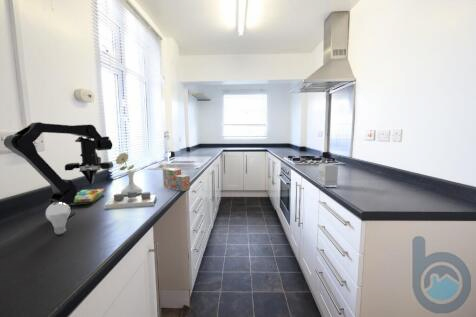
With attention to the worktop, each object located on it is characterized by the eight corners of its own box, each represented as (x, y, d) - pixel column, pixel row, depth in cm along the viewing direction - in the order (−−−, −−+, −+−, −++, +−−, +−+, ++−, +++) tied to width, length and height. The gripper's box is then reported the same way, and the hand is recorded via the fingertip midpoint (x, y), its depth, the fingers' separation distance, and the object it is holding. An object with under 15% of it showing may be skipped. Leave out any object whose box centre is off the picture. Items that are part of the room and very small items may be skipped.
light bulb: (52, 240, 76) (49, 206, 74) (44, 235, 79) (41, 203, 78) (76, 232, 81) (73, 201, 80) (67, 228, 85) (64, 198, 84)
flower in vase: (137, 190, 140) (135, 151, 137) (145, 194, 132) (143, 152, 129) (115, 194, 131) (112, 152, 128) (122, 198, 123) (119, 153, 120)
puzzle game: (105, 187, 130) (90, 197, 111) (105, 195, 131) (91, 206, 112) (82, 188, 128) (63, 198, 109) (83, 196, 128) (64, 208, 109)
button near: (122, 200, 113) (122, 195, 112) (112, 201, 112) (112, 196, 111) (124, 197, 117) (124, 193, 117) (115, 198, 116) (115, 194, 116)
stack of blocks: (190, 189, 142) (189, 170, 141) (182, 191, 138) (181, 172, 136) (171, 184, 156) (170, 167, 155) (163, 186, 151) (162, 168, 150)
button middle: (136, 197, 114) (135, 193, 114) (126, 198, 113) (126, 193, 113) (137, 195, 118) (137, 190, 118) (129, 195, 117) (128, 191, 117)
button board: (153, 205, 112) (153, 201, 111) (104, 208, 107) (104, 204, 107) (156, 198, 123) (156, 194, 123) (112, 201, 118) (112, 197, 118)
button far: (149, 198, 116) (149, 194, 115) (140, 199, 115) (140, 194, 114) (151, 196, 120) (150, 191, 120) (142, 196, 119) (142, 192, 119)
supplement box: (330, 184, 155) (331, 163, 153) (337, 187, 146) (338, 165, 144) (317, 184, 154) (318, 163, 152) (324, 188, 145) (325, 165, 143)
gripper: (115, 149, 115) (117, 179, 117) (74, 150, 111) (77, 181, 113) (108, 151, 104) (110, 184, 106) (62, 152, 100) (65, 186, 102)
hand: (91, 183), depth 107 cm, fingers closed
